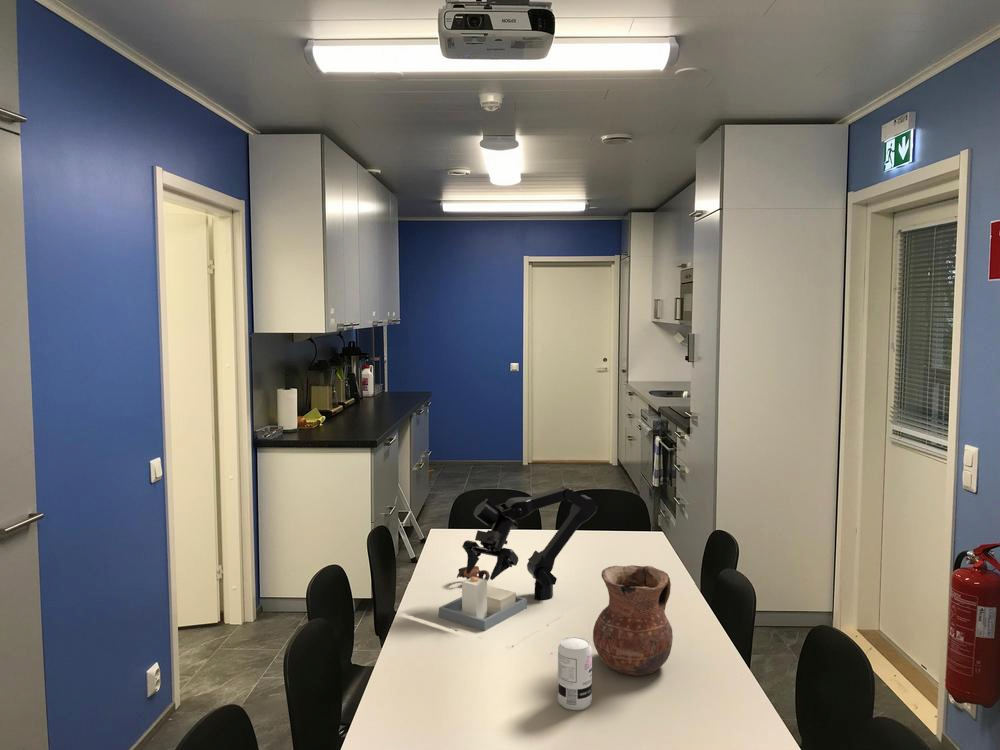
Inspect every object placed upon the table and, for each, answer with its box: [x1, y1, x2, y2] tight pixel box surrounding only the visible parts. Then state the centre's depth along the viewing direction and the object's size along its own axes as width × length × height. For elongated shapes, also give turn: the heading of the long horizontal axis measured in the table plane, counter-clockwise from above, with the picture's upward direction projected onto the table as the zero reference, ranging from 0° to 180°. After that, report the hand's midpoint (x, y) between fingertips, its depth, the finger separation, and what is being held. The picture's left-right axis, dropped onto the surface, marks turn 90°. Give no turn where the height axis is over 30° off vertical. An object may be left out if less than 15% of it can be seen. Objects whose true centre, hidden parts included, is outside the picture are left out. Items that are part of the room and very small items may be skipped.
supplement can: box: [557, 636, 593, 711], centre depth 180 cm, size 8×8×15 cm
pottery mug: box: [456, 565, 491, 582], centre depth 261 cm, size 12×10×8 cm
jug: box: [592, 565, 674, 677], centre depth 201 cm, size 22×21×25 cm
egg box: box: [487, 584, 517, 614], centre depth 239 cm, size 8×12×5 cm
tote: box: [438, 595, 528, 632], centre depth 235 cm, size 22×18×4 cm
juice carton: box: [461, 577, 488, 619], centre depth 231 cm, size 6×6×12 cm
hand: (479, 576), depth 232 cm, fingers open, 9 cm apart
